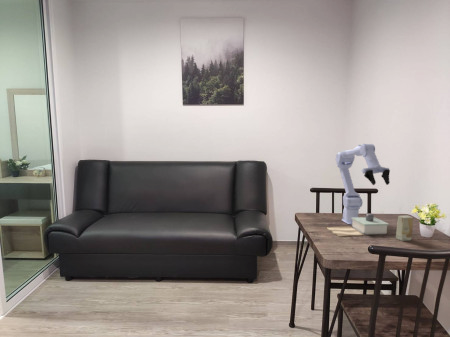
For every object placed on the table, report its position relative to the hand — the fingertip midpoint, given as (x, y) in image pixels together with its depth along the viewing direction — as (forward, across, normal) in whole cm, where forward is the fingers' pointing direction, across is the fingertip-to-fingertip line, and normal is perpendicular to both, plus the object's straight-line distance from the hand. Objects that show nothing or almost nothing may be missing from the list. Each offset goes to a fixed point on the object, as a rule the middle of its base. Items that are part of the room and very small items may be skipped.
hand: (381, 183), depth 180 cm
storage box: (+14, +1, +27) cm, 30 cm away
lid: (+10, +1, +24) cm, 26 cm away
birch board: (+14, -14, +26) cm, 33 cm away
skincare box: (+25, +11, +16) cm, 31 cm away
